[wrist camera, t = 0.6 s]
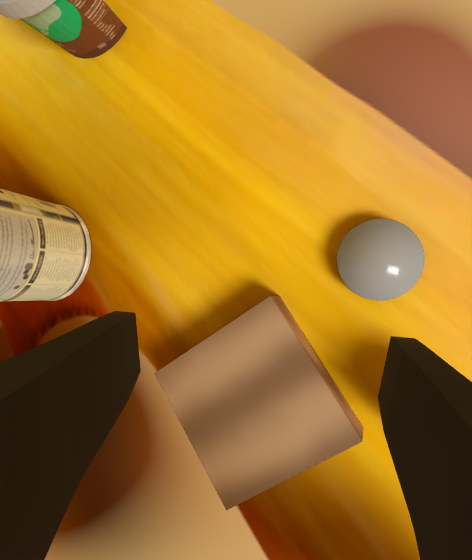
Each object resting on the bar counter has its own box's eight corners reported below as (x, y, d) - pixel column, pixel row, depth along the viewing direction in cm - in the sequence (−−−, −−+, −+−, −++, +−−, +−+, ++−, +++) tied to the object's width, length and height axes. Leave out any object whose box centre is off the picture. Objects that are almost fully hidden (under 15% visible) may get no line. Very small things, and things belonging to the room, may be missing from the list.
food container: (32, 42, 43) (-65, -29, 33) (58, -10, 42) (-34, -99, 32) (106, 89, 39) (21, 24, 29) (137, 33, 38) (59, -53, 28)
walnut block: (363, 427, 29) (362, 441, 27) (239, 491, 33) (226, 510, 30) (279, 295, 32) (270, 295, 29) (172, 367, 35) (154, 373, 32)
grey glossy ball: (438, 271, 28) (443, 270, 27) (367, 314, 30) (366, 316, 28) (390, 207, 30) (391, 202, 28) (324, 252, 31) (321, 249, 30)
